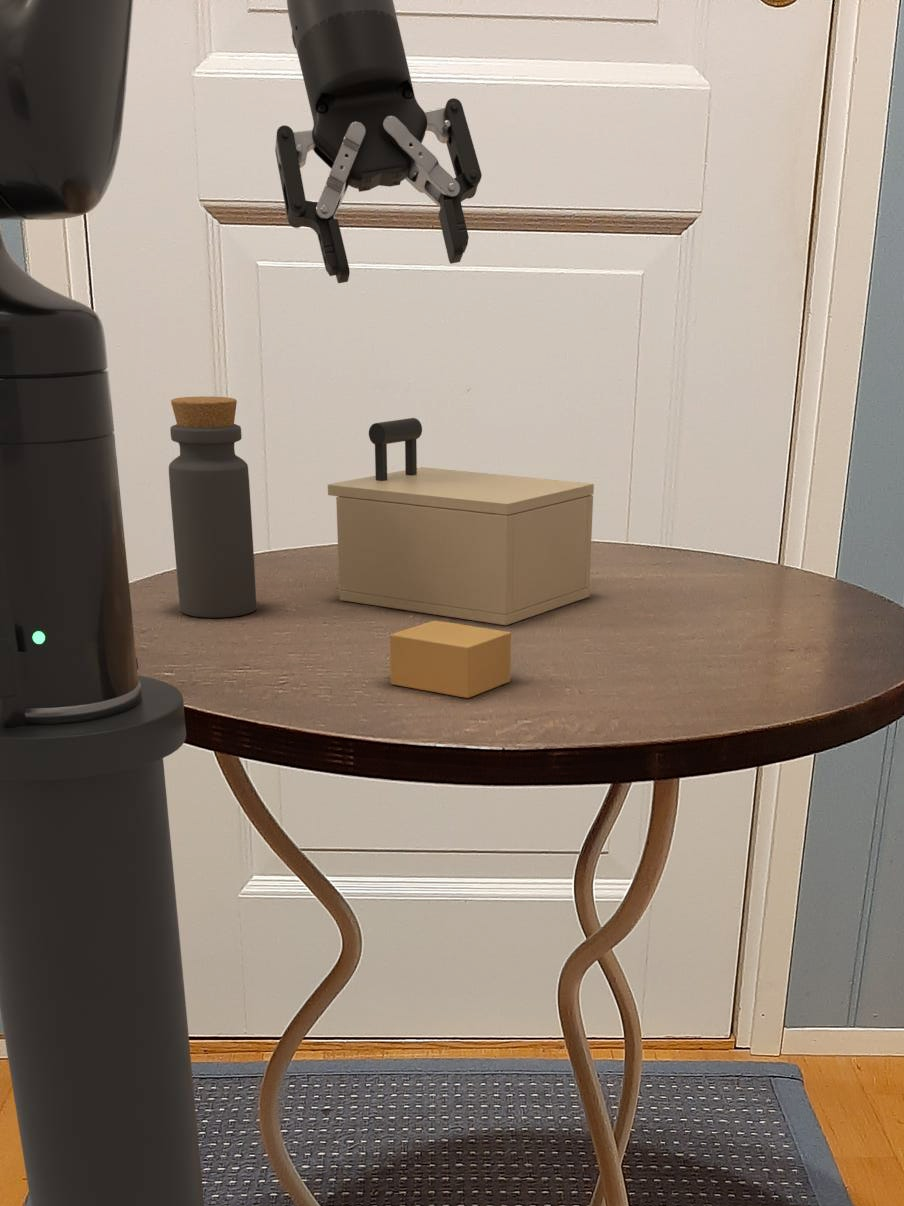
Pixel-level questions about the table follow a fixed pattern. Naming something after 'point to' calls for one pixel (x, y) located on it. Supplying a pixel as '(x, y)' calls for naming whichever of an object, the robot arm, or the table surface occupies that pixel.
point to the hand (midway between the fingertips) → (401, 268)
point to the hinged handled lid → (449, 481)
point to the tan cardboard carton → (450, 658)
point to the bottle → (211, 510)
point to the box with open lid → (464, 558)
